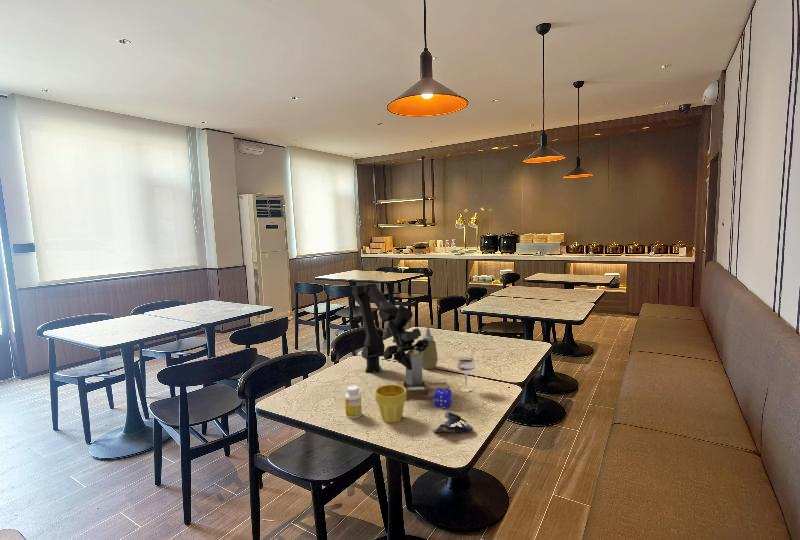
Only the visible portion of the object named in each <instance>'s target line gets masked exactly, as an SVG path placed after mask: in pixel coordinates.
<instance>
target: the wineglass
mask: <svg viewBox="0 0 800 540" xmlns="http://www.w3.org/2000/svg"><path fill="white" fill-rule="evenodd" d="M475 361H476V360H475V358H473V357H469V356H463V357H462V356H461V357H458V358H457V363H456V367H457V369H458V370H459V371H460V372H461V373H463V375H464V381H465V387H464V388H465V389H467V388H468V374H471V373H472V372H473V371H474V369H475V366H476V364H475Z"/></svg>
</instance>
